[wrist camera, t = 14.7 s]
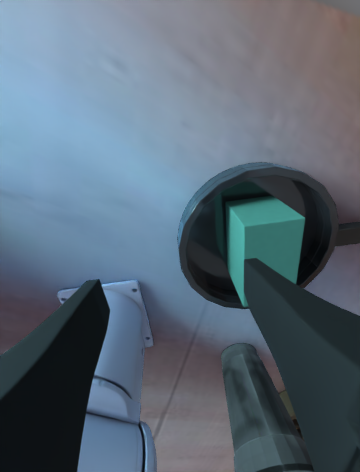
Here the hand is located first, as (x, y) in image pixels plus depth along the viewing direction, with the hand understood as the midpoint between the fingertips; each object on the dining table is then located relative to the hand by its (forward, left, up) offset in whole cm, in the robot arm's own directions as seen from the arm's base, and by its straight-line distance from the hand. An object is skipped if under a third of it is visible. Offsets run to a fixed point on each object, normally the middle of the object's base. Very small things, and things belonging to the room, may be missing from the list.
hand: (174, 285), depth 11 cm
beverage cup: (-20, -6, -10) cm, 23 cm away
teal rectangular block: (-3, -7, -9) cm, 11 cm away
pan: (-3, -7, -9) cm, 12 cm away
